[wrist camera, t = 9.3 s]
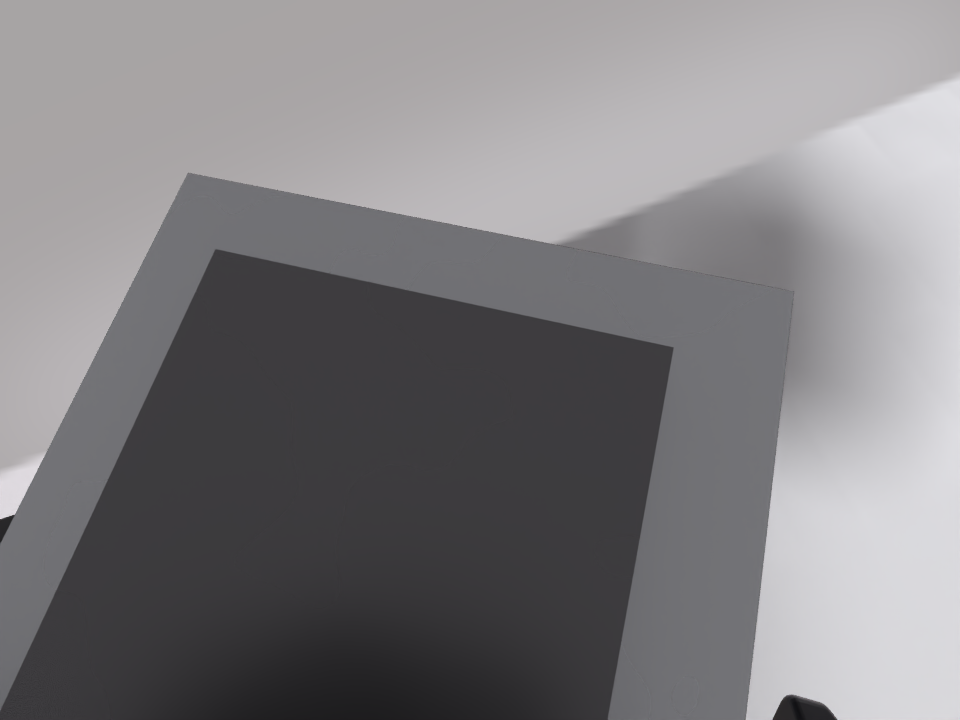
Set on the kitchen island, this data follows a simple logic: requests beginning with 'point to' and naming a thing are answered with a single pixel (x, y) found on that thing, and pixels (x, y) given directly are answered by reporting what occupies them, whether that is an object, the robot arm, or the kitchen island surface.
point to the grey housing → (399, 481)
